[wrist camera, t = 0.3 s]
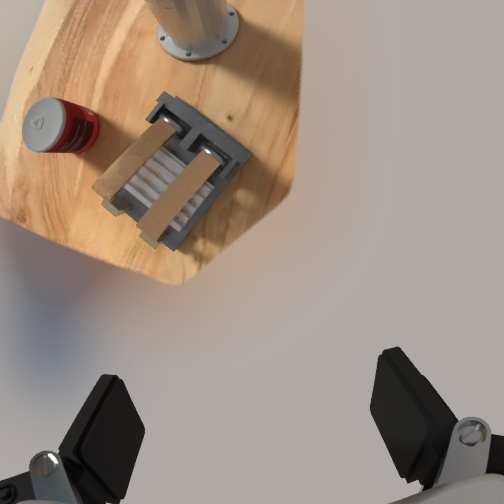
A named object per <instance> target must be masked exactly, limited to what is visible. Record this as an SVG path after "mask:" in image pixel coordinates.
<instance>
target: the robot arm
mask: <svg viewBox="0 0 504 504" xmlns="http://www.w3.org/2000/svg"><path fill="white" fill-rule="evenodd" d="M145 1H146V3H147V5H148V6H149V9H150V10H151V11H152V13H153V14H154V16H155V18H156V19H157V21H158V22H159V24H158V27H157V39H158V41H159V44H160V46H161V47H162V48H163V50H164V51H165V52H166V53H167V54H169V55H171V56H172V57H175V58H177V59H180V60H186V61H197V60H204V59H207V58H211V57H213V56H215V55H217V54H219V53H221V52H222V51H224V50H225V49H226V48H227V47H229V46H230V45H231V43H232V42H233V41H234V39H235V37H236V35H237V33H238V29H239V20H238V15H237V13H236V11H235V10H234V8H233V7H232V6H231V5H230V4H228V3H227V2H226V0H145ZM163 40H164V41H163ZM223 43H226V44H223ZM189 55H191V56H190V57H188V56H189ZM370 411H371V415H372V417H373V419H374V421H375V423H376V425H377V427H378V429H379V432H380V434H381V436H382V438H383V440H384V442H385V444H386V447H387V449H388V451H389V453H390V456H391V458H392V460H393V462H394V464H395V466H396V469H397V471H398V473H399V475H400V477H401V478H405V479H406V481H407V483H411V482H413V481H416V480H419V482H420V484H421V485H422V486H421V488H420V491H419V493H417V494H415V495H412V496H409V497H407V498H404V499H401V500H398V501H395V502H392V503H389V504H504V436H500V435H494V434H491V429H490V427H489V425H488V424H487V423H486V422H485V421H484V420H482V419H480V418H477V417H467V418H463V419H462V420H460V421H458V419H457V418H456V417H455V415H454V414H453V412H452V411H451V410H450V408H449V407H448V406H447V405H446V403H445V402H444V401H443V399H442V398H441V397H440V395H439V394H438V393H437V391H436V390H435V389H434V387H433V386H432V385H431V383H430V382H429V381H428V380H427V378H426V377H425V376H423V375H421V374H420V372H419V371H418V370H417V368H416V367H415V366H414V365H413V363H412V362H411V361H410V360H409V358H408V357H407V356H406V355H405V353H404V352H403V351H402V350H401V348H400V347H394V348H390V349H386V350H384V351H383V352H382V354H381V355H379V357H378V362H377V369H376V375H375V381H374V387H373V393H372V398H371V404H370ZM144 434H145V428H144V425H143V423H142V421H141V419H140V417H139V415H138V413H137V411H136V408H135V406H134V404H133V402H132V400H131V398H130V396H129V393H128V391H127V389H126V387H125V384H124V382H123V380H122V379H119V377H118V376H117V375H106V374H104V375H102V376H101V377H100V379H99V380H98V382H97V383H96V385H95V386H94V388H93V390H92V391H91V393H90V395H89V396H88V398H87V400H86V401H85V403H84V405H83V406H82V408H81V410H80V412H79V413H78V415H77V417H76V418H75V420H74V422H73V423H72V425H71V427H70V429H69V430H68V432H67V434H66V436H65V438H64V439H63V441H62V443H61V445H60V446H59V450H60V451H59V453H58V454H57V453H55V452H53V451H42V452H40V453H37V454H36V455H35V456H34V457H33V458H32V459H31V461H30V464H29V471H28V472H25V473H22V474H19V475H17V476H14V477H11V478H8V479H5V480H1V481H0V504H106V502H107V503H111V504H119V503H120V500H121V499H124V497H125V495H126V492H127V488H128V485H129V482H130V478H131V475H132V472H133V468H134V466H135V462H136V459H137V456H138V453H139V449H140V447H141V443H142V440H143V437H144Z"/></svg>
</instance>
